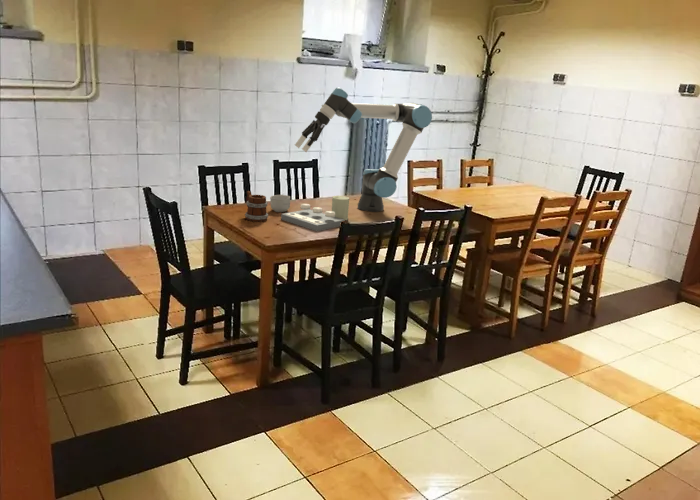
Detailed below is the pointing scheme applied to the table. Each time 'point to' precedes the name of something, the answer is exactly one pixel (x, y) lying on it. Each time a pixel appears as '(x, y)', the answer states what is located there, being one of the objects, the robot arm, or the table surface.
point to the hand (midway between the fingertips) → (300, 148)
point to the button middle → (317, 210)
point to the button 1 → (305, 206)
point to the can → (340, 206)
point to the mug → (256, 208)
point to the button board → (311, 220)
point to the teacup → (280, 203)
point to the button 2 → (330, 214)
